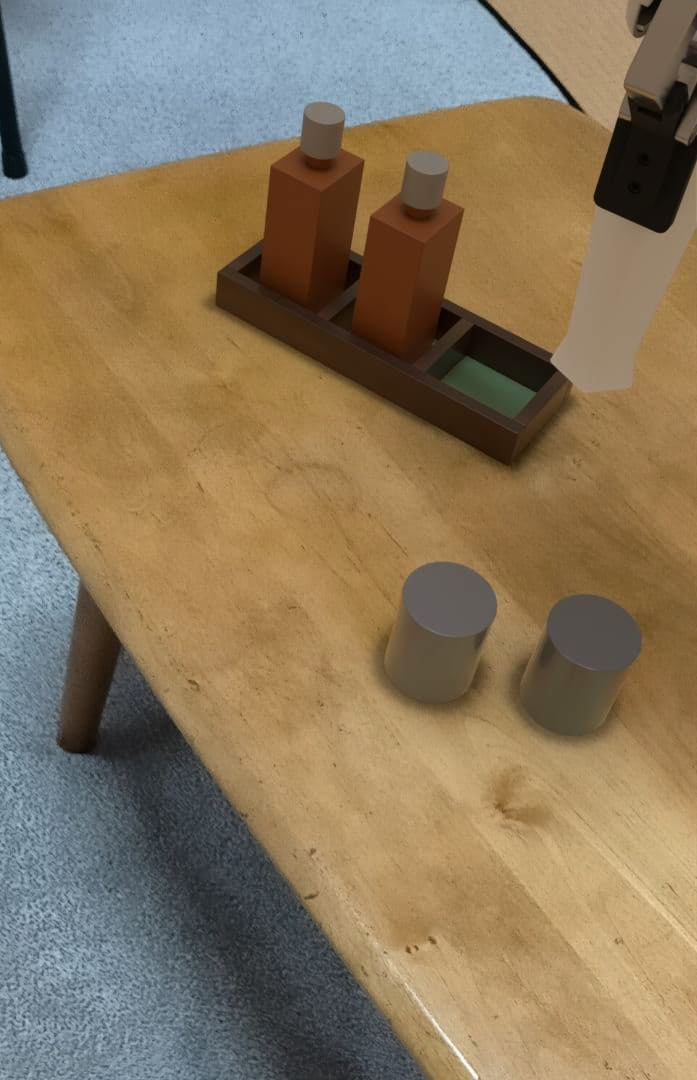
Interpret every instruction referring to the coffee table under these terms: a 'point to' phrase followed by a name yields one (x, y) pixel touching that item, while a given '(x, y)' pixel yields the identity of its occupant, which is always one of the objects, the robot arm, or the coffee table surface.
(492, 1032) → the coffee table surface
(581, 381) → the perfume bottle
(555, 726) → the grey jar
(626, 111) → the robot arm
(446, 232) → the amber bottle
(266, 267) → the amber bottle
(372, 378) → the rack
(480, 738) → the coffee table surface
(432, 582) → the grey upright cylinder
